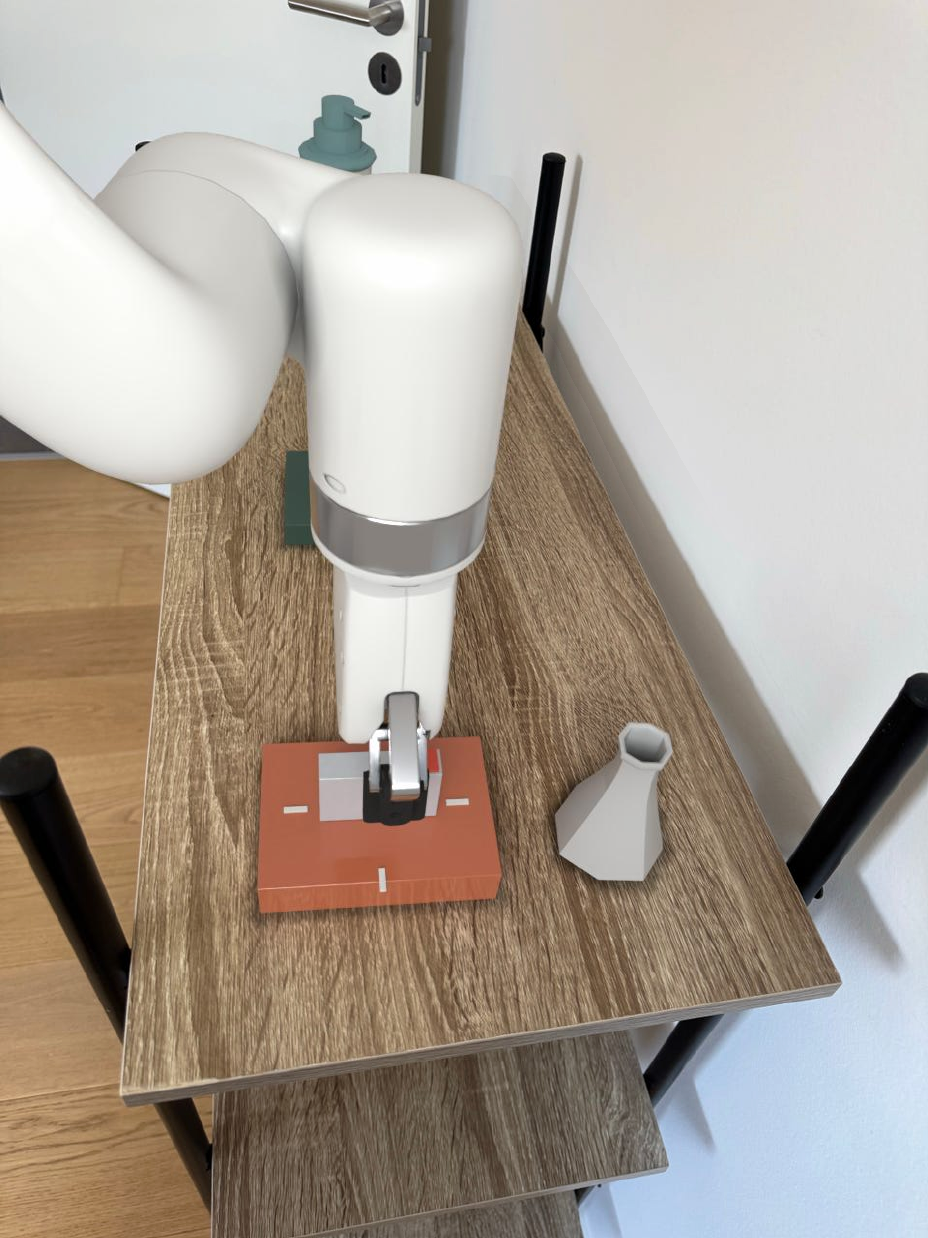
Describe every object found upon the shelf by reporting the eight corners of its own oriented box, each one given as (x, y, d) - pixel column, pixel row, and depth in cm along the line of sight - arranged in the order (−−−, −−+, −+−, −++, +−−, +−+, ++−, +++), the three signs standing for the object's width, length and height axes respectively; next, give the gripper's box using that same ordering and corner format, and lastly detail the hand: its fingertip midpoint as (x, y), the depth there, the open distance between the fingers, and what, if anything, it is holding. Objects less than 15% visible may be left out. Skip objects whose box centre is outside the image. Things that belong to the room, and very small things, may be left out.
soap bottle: (331, 363, 95) (332, 126, 78) (272, 324, 99) (260, 91, 82) (400, 334, 100) (413, 108, 84) (341, 298, 104) (343, 76, 88)
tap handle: (319, 821, 54) (318, 777, 51) (319, 796, 55) (318, 750, 52) (436, 816, 55) (442, 772, 52) (433, 790, 57) (439, 746, 53)
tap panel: (259, 923, 53) (256, 898, 50) (265, 762, 60) (262, 734, 58) (497, 908, 55) (504, 883, 53) (473, 754, 62) (479, 726, 60)
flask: (669, 805, 61) (714, 714, 54) (654, 900, 56) (701, 814, 49) (565, 773, 62) (596, 680, 55) (541, 864, 57) (571, 774, 50)
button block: (285, 545, 75) (283, 507, 72) (287, 470, 82) (285, 433, 79) (430, 545, 77) (434, 508, 74) (420, 471, 84) (423, 435, 81)
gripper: (309, 384, 44) (317, 628, 56) (310, 657, 32) (321, 889, 44) (464, 386, 45) (439, 625, 57) (521, 651, 33) (474, 879, 45)
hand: (387, 740), depth 51 cm, fingers open, 9 cm apart
